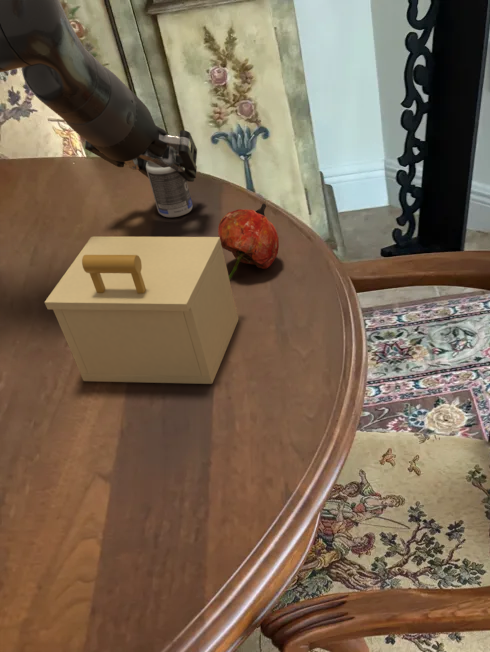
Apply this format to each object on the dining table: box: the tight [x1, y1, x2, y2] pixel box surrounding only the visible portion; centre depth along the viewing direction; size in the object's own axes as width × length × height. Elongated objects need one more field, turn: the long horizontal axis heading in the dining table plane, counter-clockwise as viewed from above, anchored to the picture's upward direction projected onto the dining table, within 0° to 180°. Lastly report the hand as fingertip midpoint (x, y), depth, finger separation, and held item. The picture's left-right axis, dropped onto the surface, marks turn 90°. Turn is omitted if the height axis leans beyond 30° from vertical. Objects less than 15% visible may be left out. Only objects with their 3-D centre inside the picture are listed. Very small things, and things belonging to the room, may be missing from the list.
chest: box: [52, 245, 240, 385], centre depth 81 cm, size 12×14×9 cm
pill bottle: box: [146, 153, 194, 218], centre depth 103 cm, size 5×5×8 cm
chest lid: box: [44, 235, 221, 311], centre depth 76 cm, size 13×14×4 cm
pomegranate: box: [217, 202, 280, 280], centre depth 93 cm, size 7×7×10 cm
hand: (173, 173), depth 104 cm, fingers closed on pill bottle, 4 cm apart
